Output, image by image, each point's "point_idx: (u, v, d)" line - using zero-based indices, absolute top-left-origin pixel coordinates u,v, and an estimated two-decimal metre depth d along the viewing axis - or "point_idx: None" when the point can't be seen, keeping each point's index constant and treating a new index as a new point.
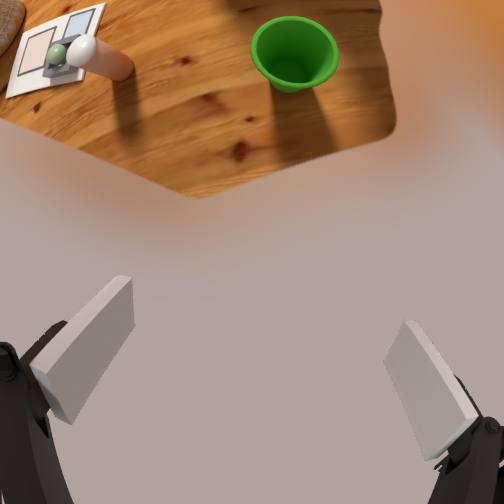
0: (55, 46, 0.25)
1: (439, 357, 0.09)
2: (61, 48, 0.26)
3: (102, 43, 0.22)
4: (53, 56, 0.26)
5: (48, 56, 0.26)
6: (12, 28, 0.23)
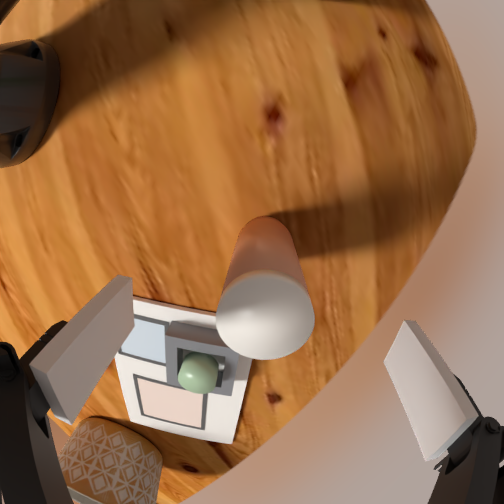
0: (183, 377, 0.23)
1: (439, 357, 0.09)
2: (190, 366, 0.23)
3: (250, 261, 0.13)
4: (204, 381, 0.23)
5: (200, 388, 0.24)
6: (119, 437, 0.32)
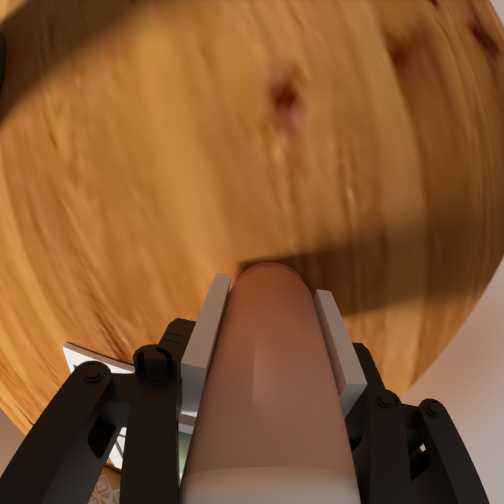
0: None
1: (342, 324, 0.11)
2: None
3: (238, 423, 0.05)
4: None
5: None
6: (104, 481, 0.24)
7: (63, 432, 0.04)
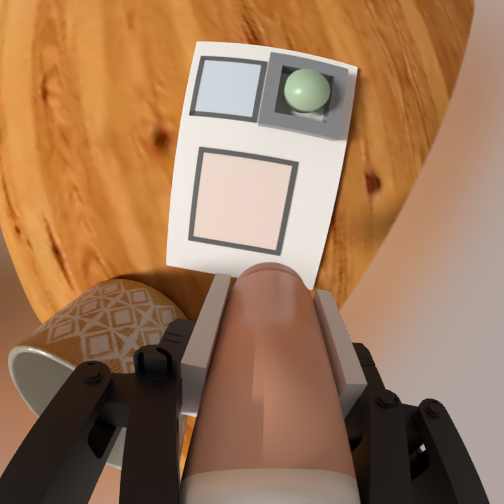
0: (293, 83, 0.19)
1: (342, 323, 0.11)
2: (302, 69, 0.18)
3: (238, 425, 0.05)
4: (318, 86, 0.19)
5: (311, 100, 0.19)
6: (144, 293, 0.28)
7: (63, 432, 0.04)
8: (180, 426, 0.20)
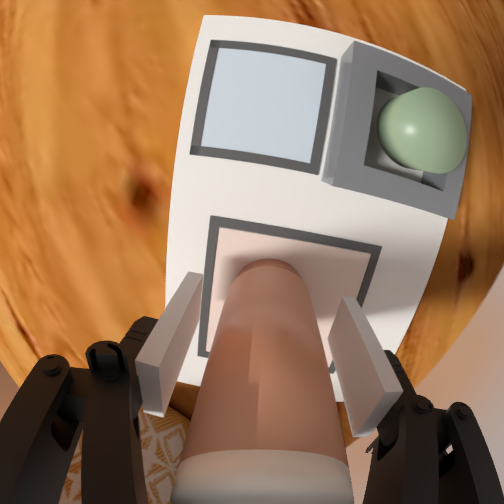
0: (412, 114, 0.08)
1: (371, 331, 0.11)
2: (424, 88, 0.08)
3: (234, 408, 0.06)
4: (451, 128, 0.08)
5: (441, 154, 0.09)
6: (141, 415, 0.17)
7: (27, 423, 0.04)
8: None
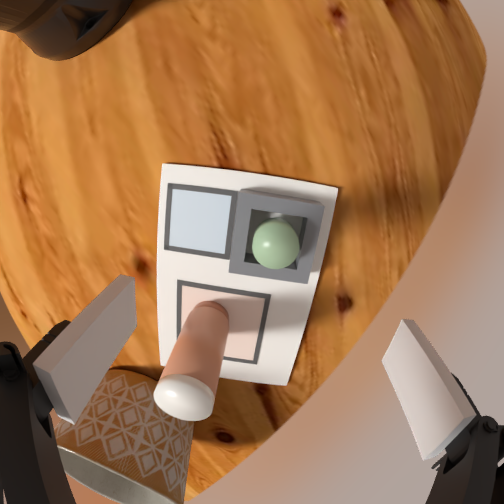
0: (260, 242, 0.21)
1: (437, 356, 0.09)
2: (271, 224, 0.21)
3: (174, 363, 0.18)
4: (286, 244, 0.21)
5: (279, 259, 0.21)
6: (145, 388, 0.30)
7: None
8: (181, 489, 0.22)
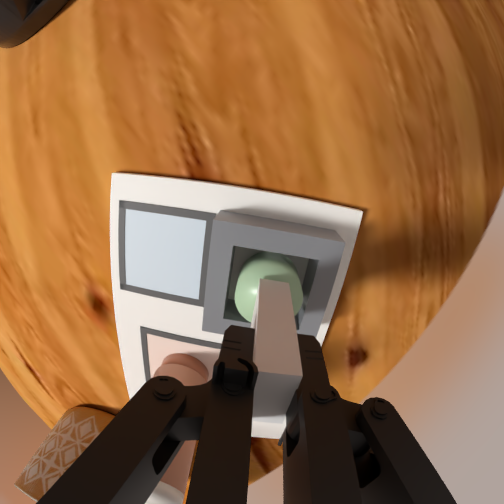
0: (246, 292, 0.14)
1: (293, 314, 0.11)
2: (262, 266, 0.14)
3: None
4: None
5: None
6: None
7: (128, 451, 0.04)
8: None
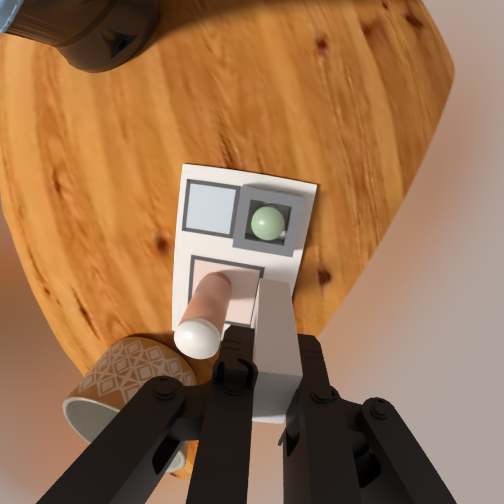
0: (257, 220, 0.30)
1: (293, 314, 0.11)
2: (264, 207, 0.30)
3: (191, 311, 0.26)
4: (275, 222, 0.30)
5: (270, 233, 0.30)
6: (157, 350, 0.38)
7: (128, 451, 0.04)
8: None
